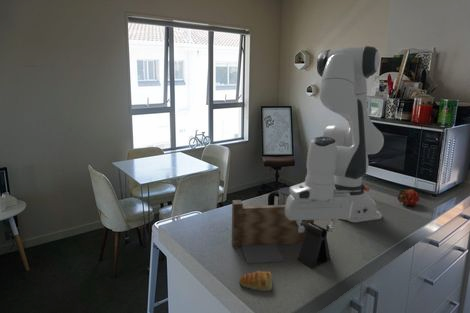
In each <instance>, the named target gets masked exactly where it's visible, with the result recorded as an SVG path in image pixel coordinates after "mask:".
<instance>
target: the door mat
mask: <svg viewBox="0 0 470 313" xmlns="http://www.w3.org/2000/svg"><path fill="white" fill-rule="evenodd" d="M241 250H242V253H243V254H244V258H245V260H246V263H247V264H262V263H265V264H266V263H278V262H285V259H284V257H283V256H282V254H281V252H280V251H279V249H278V247H277V244H268V245H250V246H242V248H241Z"/></svg>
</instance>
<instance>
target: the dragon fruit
mask: <svg viewBox="0 0 470 313" xmlns="http://www.w3.org/2000/svg"><path fill="white" fill-rule="evenodd" d="M397 200H398V202H399V203H402V202H403V203H404V204H405V205H408V206H410V205H414V206H413V207H415V206H416V204H417V202H419V201H420V197H419V194H418V192H417V191H415V190H414V189H413V188H411V189H408V188H407V189H405V190H400V191H399V193H398V197H397ZM403 203H402V204H403ZM405 205H404V206H405Z"/></svg>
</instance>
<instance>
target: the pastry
mask: <svg viewBox="0 0 470 313" xmlns="http://www.w3.org/2000/svg"><path fill="white" fill-rule="evenodd" d="M272 278H273V277H272V273H271V271H269V270H268V271H261V270H256V271H253V272H248V273H245V274H242V275H241V276H240V278H239V283H240V285H241V286H242V287H244V288H246V289H250V290H253V291H260V292H261V291H262V292H263V291H265V292H269V291H270V292H271V290H272V289H273V279H272Z"/></svg>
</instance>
